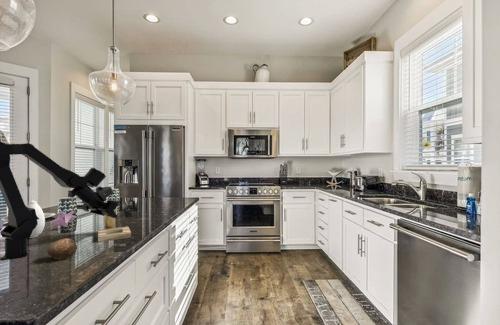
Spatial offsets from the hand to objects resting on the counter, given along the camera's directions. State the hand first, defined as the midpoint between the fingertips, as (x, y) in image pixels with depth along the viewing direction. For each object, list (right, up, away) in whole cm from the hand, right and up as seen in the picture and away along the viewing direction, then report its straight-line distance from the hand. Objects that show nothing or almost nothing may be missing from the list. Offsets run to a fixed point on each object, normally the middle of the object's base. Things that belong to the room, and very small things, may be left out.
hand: (112, 216), depth 119 cm
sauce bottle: (-29, -7, -10) cm, 31 cm away
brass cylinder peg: (-1, -7, -1) cm, 7 cm away
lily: (-26, -7, +5) cm, 27 cm away
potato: (0, -7, -32) cm, 33 cm away
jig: (+5, -7, -8) cm, 11 cm away
